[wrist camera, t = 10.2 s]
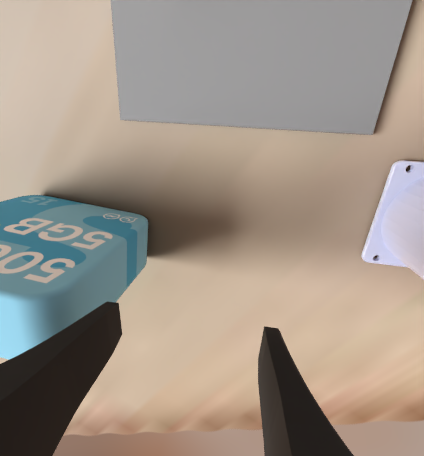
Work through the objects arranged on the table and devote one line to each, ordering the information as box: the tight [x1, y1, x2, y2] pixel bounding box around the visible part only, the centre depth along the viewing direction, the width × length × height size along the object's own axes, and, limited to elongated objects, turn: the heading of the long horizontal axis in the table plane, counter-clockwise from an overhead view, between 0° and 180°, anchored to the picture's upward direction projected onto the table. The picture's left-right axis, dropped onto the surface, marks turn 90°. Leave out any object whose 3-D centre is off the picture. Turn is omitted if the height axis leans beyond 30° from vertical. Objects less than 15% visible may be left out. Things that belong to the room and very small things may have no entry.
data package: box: [0, 195, 148, 360], centre depth 17 cm, size 12×4×12 cm, turn 82°
